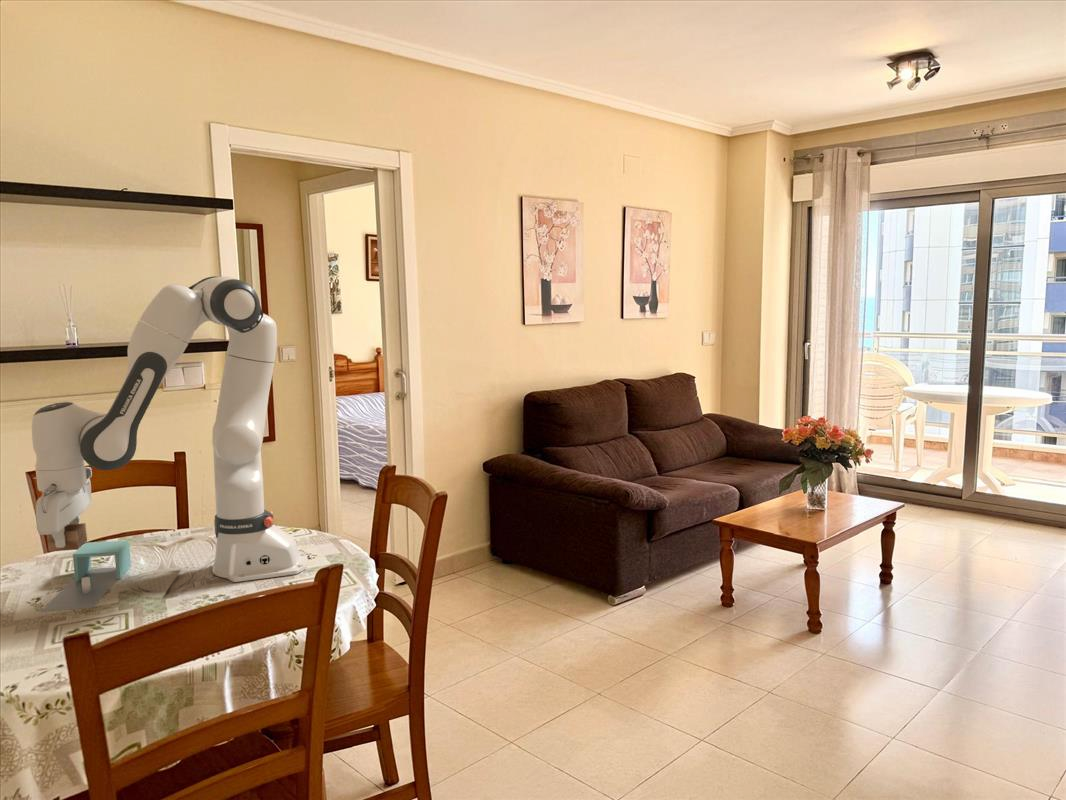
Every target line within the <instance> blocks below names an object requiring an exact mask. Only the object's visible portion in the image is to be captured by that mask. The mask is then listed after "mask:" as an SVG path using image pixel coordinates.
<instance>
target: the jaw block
mask: <svg viewBox="0 0 1066 800" xmlns="http://www.w3.org/2000/svg"><path fill="white" fill-rule="evenodd" d="M64 530H65V531H64V535H65V537H67V545H66V546H65V547H63V548H57V547H56V546H55V540H54V538H53V537H52V535H51V534H48V535H46V540H47V550H48V552H61V551H62V552H63V551H75V550H76V551H77V550H78V549H79V548H80V547H82V546H83V545H84V544H85V543H87V541H88V535H87V534H88V533H87V525H86V523H81V522H80V524H68V525H67V526H65V527H64Z"/></svg>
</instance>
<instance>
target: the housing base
mask: <svg viewBox="0 0 1066 800" xmlns="http://www.w3.org/2000/svg"><path fill="white" fill-rule="evenodd" d="M117 581H118V579H117V577H116V566H114V567H97V568H91V569H90V570H89V571H88V572H87V573H86V574H85V575H84V576H83V577H82V578H81V579H80V580H79V581H75V577H74V578H72V579H71V580H70V581H69V582H68V583H67V585H66V586H65V587H64V588H62V590H60V592H58V594H57V595H56V596H54V597H53V599H51V601H50V602H48V603H47V604H46V605H45V606H44V607H43V608H42V609H41V612H53V611H54V612H55V611H67V610H80V609H81V610H83V609H94V607H95V606H96V605H97V604H98V602H100V600H101V599H103V597H104V595H106V593H107V592H108V591H109V589H110V588H111V587H112V586H114V584H115V583H117Z"/></svg>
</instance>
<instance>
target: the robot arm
mask: <svg viewBox="0 0 1066 800" xmlns="http://www.w3.org/2000/svg"><path fill="white" fill-rule="evenodd" d="M206 322H212V323H214V324H218V325H222V326H225V328H226V329H227V332H228V344H227V345H228V346H227V350H226V354H225V355H226V356H225V361H224V366H223V371H222V379H221V383H220V391H219V397H218V403H217V408H216V415H215V421H214V424H213V427H212V435H211V437H212V440H211V443H212V448H213V450H212V451H213V469H214V470H213V471H214V490H215V491H214V492H215V493H214V495H215V496H214V497H215V512H216V514H215V515H214V521H213V522H214V526H213V527H214V534H215V538H216V546H215V547H216V548H215V556H214V560H213V565H212V569H211V571H212V572H211V573H212V574H214V575H215V576H217V577H220V578H222V579H223V578H224V579H228V580H229V581H230V582H233V583H238V582H247V581H253V580H262V579H269V578H277V577H283V576H284V577H285V576H293V575H297V574H300V573H301V572H303V571H304V570H305V569H306V568H307V566H308V563H307V561H308V555H307V554H306V553H305V552H303V551H300V550H299V547H298V544H297V541H296V539H295V537H294V535H292V534H290V533H288V532H286V531H285V530H283V529H282V528H280V527H279V526H277V525H275V524H274V513H273V510H271V511H270V512H269V511H267V510H266V509H265V497H264V496H265V494H264V476H263V464H262V463H263V462H262V446H263V443H264V442H263V441H264V435H265V434H264V433H265V429H266V421H267V414H268V407H269V406H268V405H269V397H270V390H271V384H272V379H273V374H274V369H275V367H274V366H275V364H276V363H275V362H276V354H277V344H278V327H277V324H276V321H275V320H274V319H273V318H272V317H270V316H269V315H268V314H265V313H264V312H263V308H262V307H261V302H260V299H259V296H258V293H257V292H256V290H255V289H254V288H253V287H252V286H251V285H250V284H249V283H247V281H243V280H240V279H237V278H234V277H230V276H208V277H206V278H203V279H201V280H199V281H198V282H196V283H195V284H192V285H190V286H189V287H187V286H184V285H180V284H167V285H165V286H163V287H162V289H160V291H158V293H157V294H156V295H155V296H154V298H152V300H151V301H150V303H148V305H147V306H146V308H145V310H144V311H143V312H142V314H141V316H140V318H139V320H138V321H137V323H136V325H135V327H134V329H133V331H132V333H131V337H130V340H129V342H128V345H127V370H126V374H125V375H126V376H125V379H124V381H123V383H122V385H121V387H120V389H119V391H118V392H117V394H116V396H115V398H114V401H113V402H112V404H111V406H110V407H109V409H108V412H107V413H104V412H103V413H102V412H99V411H98V412H97V411H93V410H90V409H87V408H85V407H81V406H79V405H77V404H75V403H74V402H70V401H64V402H55V403H52V404H48V405H46V406H42V407H40V408H38V410H36V411H35V413H34V414H33V416H32V422H31V440H32V449H33V451H34V453H35V457H36V462H35V468H34V469H35V475H36V477H35V478H36V486H37V490H38V491H39V492H41V496H40V497H39V498H38V499H37V500H36V504H35V521H36V522H35V523H36V531H37V533H38V534H39V536H40V535H41V536H43V535H44V536H47V535H48V534H51V535H52V537H53V538H54V540H55V546H56V547H57V548H63V547H65V546H66V545H67V537H65V535H64V531H65V530H64V527H65V526H67V525H68V524H81V519H82V516H81V515H82V513H84V512H85V511H86V510H88V508H90V506H91V503H92V484H91V479H90V478H92V476H93V472H92V471H93V470H92V468H94V469H97V470H102V471H114V470H118V469H120V468H122V467H124V466H126V465H127V464H129V462H131V460H132V459H133V458H134V456H135V453H136V450H137V444H138V443H137V442H138V439H137V437H138V436H137V435H138V431H139V426H140V424H141V421H142V420H143V417H144V415H145V413H146V412H147V410H148V408H149V406H150V404H151V402H152V400H153V398H154V397H155V394H156V392H157V390H158V389H159V387H160V386H161V384H162V382H163V381H164V380H165V378H166V377H167V375H168V374H169V373H170V372H171V370H173V368H174V366H175V365H176V363H177V362H179V359H180V358H181V356H182V355H183V353H184V352H185V350H186V348H187V347H188V346H189V343H190V342H191V340H192V338H193V336H194V333H195V332H196V331H197V330H198V329H199V328H200V326H202V325H203V324H204V323H206ZM85 463H86V464H87V465H89V466H85ZM91 467H92V468H91ZM308 562H309V561H308ZM306 565H307V566H306ZM305 567H306V568H305Z"/></svg>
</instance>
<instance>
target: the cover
mask: <svg viewBox="0 0 1066 800" xmlns="http://www.w3.org/2000/svg"><path fill="white" fill-rule="evenodd" d="M130 544H131V543H130V540H129V539H128V540H114V541H113V540H111V541H98V542H97V541H94V542H91V541H90V542H85V543H84V544H83V545H82V546H81V547H80V548H79V549H78V550H76V551H74V553H73V554H72V559H73V561H72V562H73V570H74V571H73V572H74V574H73V575H74V578H75V581H79V580H80V579H81V578H82V577H83V576H84V575H85V574H86V573H87V572H88V571H89V570H90V569H92V561H91V560H92V558H91V557H107V556H108V557H109V556H114V558H115V559H114V562H115V563H114V564H115V567H116V577H117V580H119V579H121V578H122V577H123V576H124V575H125V574H126V572H127V571H128V570H129V569H131V566H132V560H131V547H130Z"/></svg>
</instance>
